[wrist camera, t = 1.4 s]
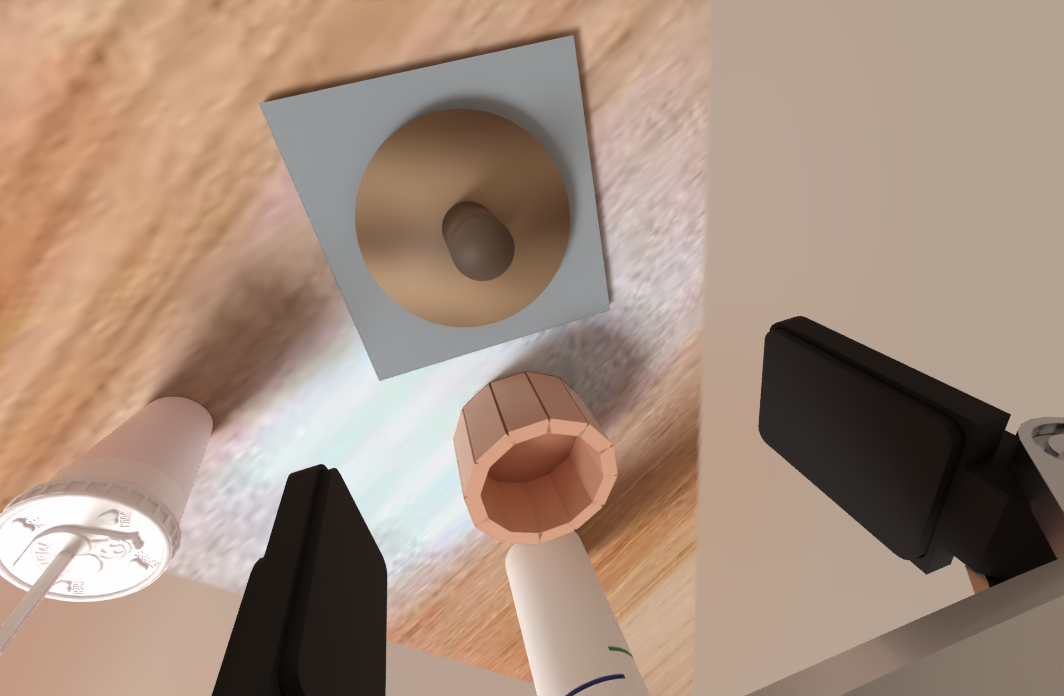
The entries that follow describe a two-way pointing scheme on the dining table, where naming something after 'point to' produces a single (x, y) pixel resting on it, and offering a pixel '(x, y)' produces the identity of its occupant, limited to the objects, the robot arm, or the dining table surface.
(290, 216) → the dining table surface
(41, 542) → the smoothie
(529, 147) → the lid
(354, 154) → the mat
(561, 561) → the cylindrical container
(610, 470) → the bowl
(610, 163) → the dining table surface
